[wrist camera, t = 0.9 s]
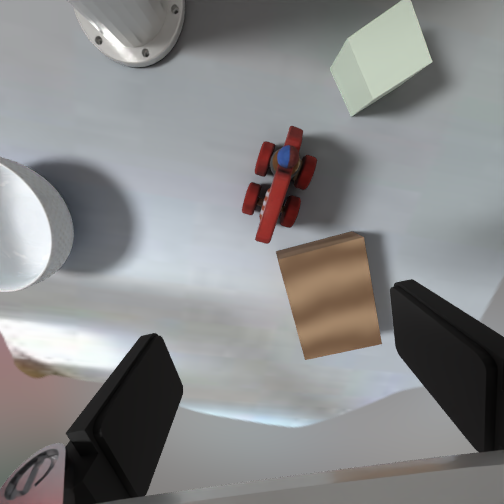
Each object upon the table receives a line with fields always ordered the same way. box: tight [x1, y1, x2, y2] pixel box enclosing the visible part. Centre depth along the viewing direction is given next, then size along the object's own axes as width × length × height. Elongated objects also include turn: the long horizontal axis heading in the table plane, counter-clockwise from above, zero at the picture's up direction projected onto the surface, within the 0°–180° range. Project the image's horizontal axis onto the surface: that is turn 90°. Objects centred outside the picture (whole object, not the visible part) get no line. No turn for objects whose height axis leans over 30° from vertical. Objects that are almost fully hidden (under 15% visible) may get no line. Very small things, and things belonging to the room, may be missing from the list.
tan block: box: [276, 231, 382, 360], centre depth 33 cm, size 16×11×4 cm
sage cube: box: [330, 0, 432, 117], centre depth 25 cm, size 6×6×6 cm
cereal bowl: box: [0, 157, 74, 292], centre depth 31 cm, size 17×17×7 cm
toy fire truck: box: [242, 126, 317, 244], centre depth 27 cm, size 7×12×10 cm, turn 162°
